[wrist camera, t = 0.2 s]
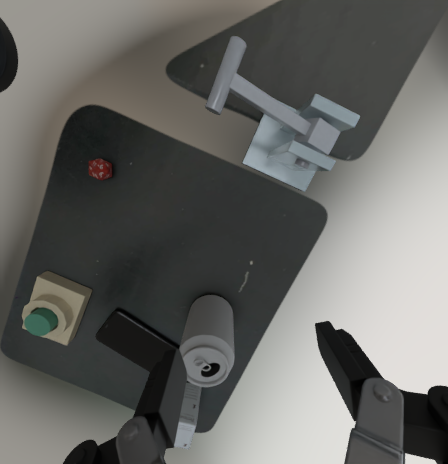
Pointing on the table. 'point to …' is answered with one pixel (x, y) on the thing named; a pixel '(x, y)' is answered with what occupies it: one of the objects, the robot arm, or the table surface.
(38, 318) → the flush button
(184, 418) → the white cardboard box
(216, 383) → the can
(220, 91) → the flush lever
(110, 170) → the die
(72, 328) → the green push button box
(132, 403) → the table surface
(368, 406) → the robot arm
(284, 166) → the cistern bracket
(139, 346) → the smartphone
